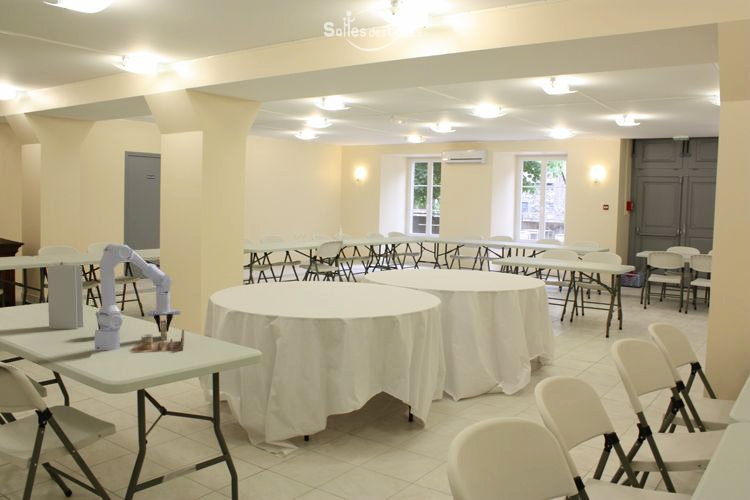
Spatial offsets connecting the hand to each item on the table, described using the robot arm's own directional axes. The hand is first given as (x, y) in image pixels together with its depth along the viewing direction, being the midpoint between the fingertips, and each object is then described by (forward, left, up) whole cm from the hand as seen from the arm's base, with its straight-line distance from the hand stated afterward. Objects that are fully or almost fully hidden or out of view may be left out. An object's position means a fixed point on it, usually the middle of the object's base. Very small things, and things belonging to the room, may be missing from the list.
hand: (163, 331), depth 279 cm
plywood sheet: (0, 0, -3) cm, 3 cm away
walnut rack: (-1, -17, -4) cm, 18 cm away
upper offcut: (-6, -17, 0) cm, 18 cm away
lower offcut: (-6, -17, -3) cm, 18 cm away
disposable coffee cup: (-25, +13, -4) cm, 29 cm away
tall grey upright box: (-47, +39, -4) cm, 61 cm away
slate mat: (0, 0, -4) cm, 4 cm away
